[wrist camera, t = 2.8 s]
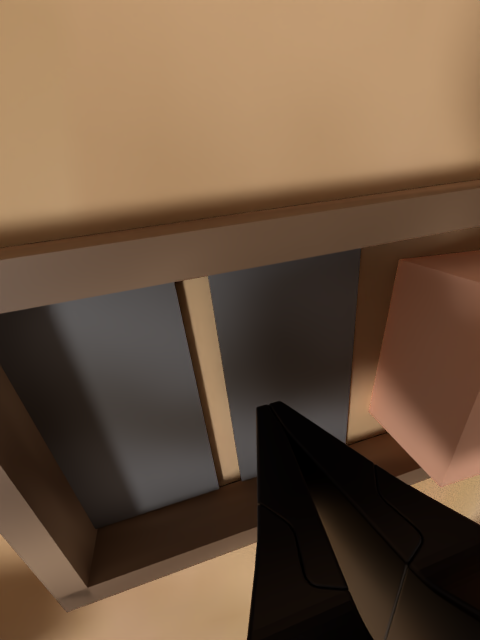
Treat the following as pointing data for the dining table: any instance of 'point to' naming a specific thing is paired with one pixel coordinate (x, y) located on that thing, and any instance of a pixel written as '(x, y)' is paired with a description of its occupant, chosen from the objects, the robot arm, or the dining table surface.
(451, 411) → the block
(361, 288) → the dining table surface
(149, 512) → the channel
